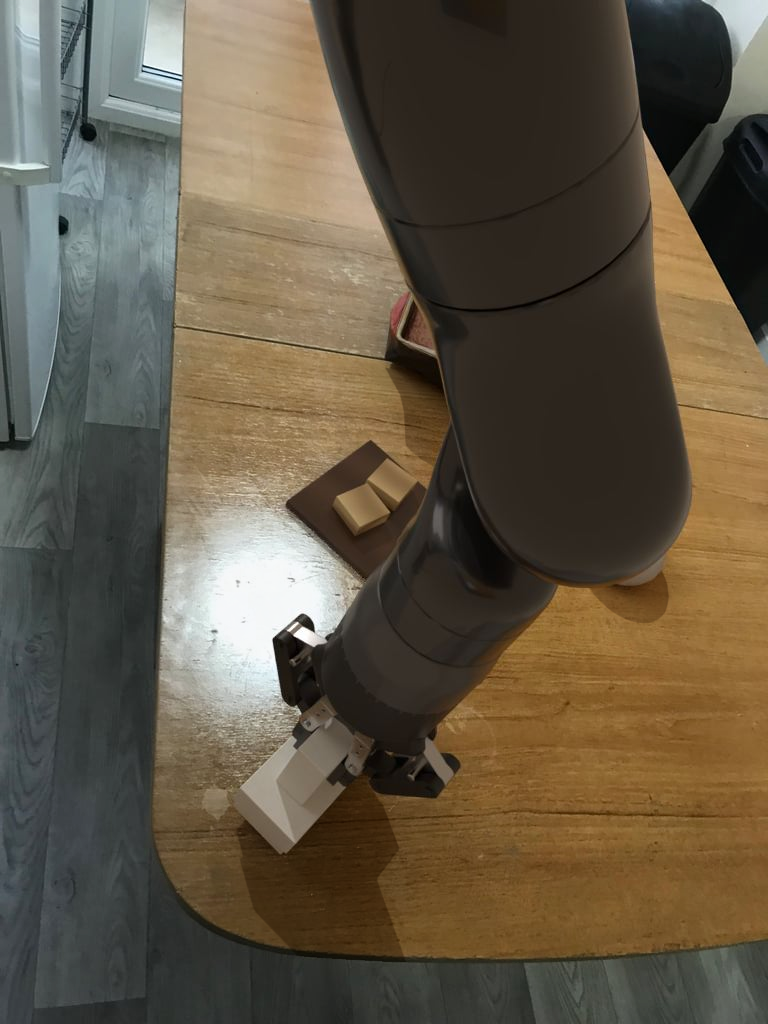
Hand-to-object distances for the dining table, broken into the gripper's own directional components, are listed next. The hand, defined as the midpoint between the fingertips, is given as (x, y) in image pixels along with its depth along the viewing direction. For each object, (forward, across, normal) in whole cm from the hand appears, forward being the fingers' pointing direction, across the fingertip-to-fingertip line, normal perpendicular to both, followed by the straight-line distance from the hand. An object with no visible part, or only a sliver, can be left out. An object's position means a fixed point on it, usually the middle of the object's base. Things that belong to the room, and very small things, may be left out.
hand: (322, 756), depth 56 cm
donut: (+6, +6, +40) cm, 41 cm away
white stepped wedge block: (+5, 0, 0) cm, 5 cm away
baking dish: (+6, -21, +46) cm, 51 cm away
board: (+6, -10, +23) cm, 26 cm away
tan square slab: (+5, -13, +26) cm, 29 cm away
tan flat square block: (+5, -13, +21) cm, 25 cm away
